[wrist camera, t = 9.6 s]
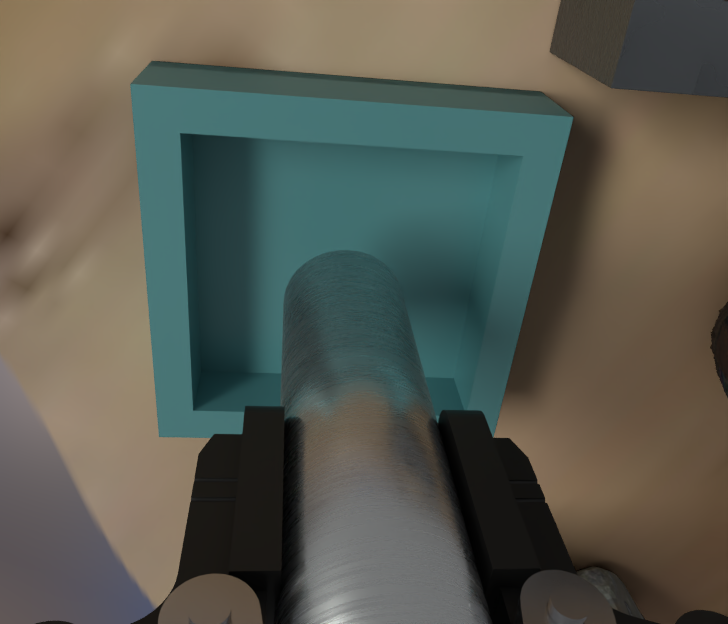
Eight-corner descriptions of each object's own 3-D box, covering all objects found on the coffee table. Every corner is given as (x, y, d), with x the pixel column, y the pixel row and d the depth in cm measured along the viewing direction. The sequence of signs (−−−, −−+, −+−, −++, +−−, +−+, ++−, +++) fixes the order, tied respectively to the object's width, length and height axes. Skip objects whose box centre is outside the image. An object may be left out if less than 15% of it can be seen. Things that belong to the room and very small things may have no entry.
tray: (541, 91, 18) (573, 117, 16) (474, 391, 23) (492, 441, 21) (152, 60, 17) (130, 84, 15) (172, 384, 22) (159, 436, 20)
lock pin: (437, 231, 16) (761, 983, 5) (414, 373, 18) (602, 1121, 7) (260, 222, 16) (173, 1036, 4) (257, 369, 18) (193, 1168, 7)
